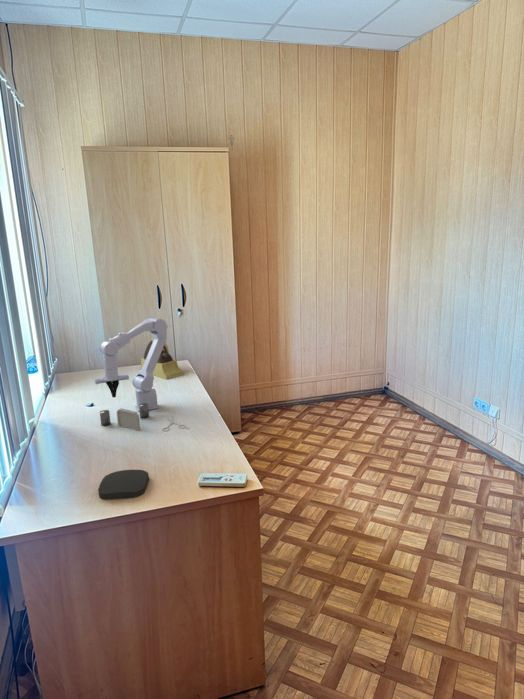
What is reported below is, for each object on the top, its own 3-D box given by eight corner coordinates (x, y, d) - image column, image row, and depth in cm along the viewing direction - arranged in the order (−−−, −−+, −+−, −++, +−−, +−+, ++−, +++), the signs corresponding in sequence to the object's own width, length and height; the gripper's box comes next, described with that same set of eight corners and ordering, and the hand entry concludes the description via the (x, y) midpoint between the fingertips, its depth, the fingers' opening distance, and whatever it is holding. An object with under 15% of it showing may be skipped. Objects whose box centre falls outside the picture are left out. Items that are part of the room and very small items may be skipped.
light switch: (137, 431, 199) (135, 413, 197) (118, 425, 205) (116, 408, 203) (140, 429, 200) (138, 412, 198) (121, 424, 206) (119, 407, 205)
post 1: (110, 422, 210) (108, 409, 208) (111, 425, 206) (109, 412, 205) (100, 423, 208) (99, 410, 207) (101, 426, 205) (100, 413, 203)
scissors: (163, 432, 195) (157, 416, 214) (163, 434, 196) (157, 417, 214) (188, 428, 199) (180, 412, 217) (188, 430, 199) (180, 414, 217)
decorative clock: (184, 374, 280) (180, 325, 273) (166, 379, 271) (162, 328, 264) (157, 367, 299) (153, 320, 292) (139, 371, 290) (134, 323, 283)
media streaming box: (143, 498, 147) (142, 489, 146) (96, 501, 146) (94, 493, 145) (150, 475, 161) (150, 467, 160) (107, 478, 160) (106, 470, 159)
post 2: (148, 415, 217) (147, 402, 215) (150, 417, 213) (148, 405, 212) (139, 416, 215) (138, 404, 214) (141, 419, 211) (139, 406, 210)
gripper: (125, 363, 218) (128, 391, 221) (92, 368, 212) (96, 396, 215) (128, 367, 211) (131, 395, 214) (94, 372, 205) (98, 401, 209)
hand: (114, 396), depth 214 cm, fingers closed
